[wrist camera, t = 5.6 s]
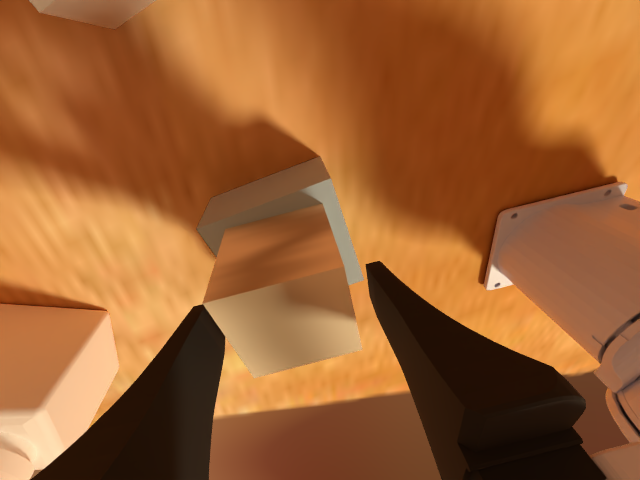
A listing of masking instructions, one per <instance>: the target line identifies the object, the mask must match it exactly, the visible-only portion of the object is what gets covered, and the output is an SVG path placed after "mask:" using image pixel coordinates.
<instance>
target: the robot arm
mask: <svg viewBox="0 0 640 480" xmlns="http://www.w3.org/2000/svg"><path fill="white" fill-rule="evenodd" d="M627 187H628V186H627V184H626V183H623V182H616V183H612V184H608V185H604V186H600V187H596V188H592V189H588V190H584V191H580V192H576V193H572V194H568V195H564V196H559V197H555V198H551V199H547V200H543V201H539V202H535V203H531V204H527V205H523V206H519V207H515V208H511V209H507V210H504V211H502V212H501V213H500V214H499V216H498V219H497V224H496V229H495V234H494V238H493V243H492V248H491V253H490V257H489V262H488V267H487V272H486V277H485V281H484V287H485V288H486V289H487V290H493V289H497V288H501V287H505V286H509V285H513V284H514V285H515V286H516V287H517V288H518V289H520V290H521V291H522V292H523V293H524V294H525V295H526V296H527V297H528V298H529V299H530V300H532V301H533V302H534V303H535V304H536V305H537V306H538V307H539V308H540V309H541V310H542V311H544V312H545V313H546V314H547V315H548V316H549V317H550V318H551V319H552V320H553V321H554V322H556V323H557V324H558V325H559V326H560V327H561V328H562V329H563V330H564V331H565V332H566V333H568V334H569V335H570V336H571V337H572V338H573V339H574V340H575V341H576V342H577V343H579V344H580V345H581V346H582V347H583V348H584V349H585V350H586V351H587V352H588V353H589V354H591V355H592V356H593V357H594V358H595V359H596V360H597V361H598V362H599V363H600V364H601V365H600V366H599V368H598V369H597V370H596V371H595V372H594V374H595V375H596V376H597V377H598V378H599V379H600V380H601V381H602V382H603V383H604V384H605V385H606V386H607V387H608V389H607V392H606V402H607V405H608V408H609V410H610V412H611V415H612V417H613V419H614V420H615V422H616V423H617V425H618V426H619V428H620V430H621V431H622V433H623V434H624V435H625V437H626V438H627V439H628V441H629V442H630V444H627V445H623V446H619V447H615V448H611V449H607V450H603V451H600V452H597V453H595V454H593V455H591V456H589V455H588V454H587V453H586V452H585V450H584V449H583V448H582V447H581V445H580V444H582V443H583V441H582V438H581V437H580V436H579V435H578V433H577V432H576V431H575V430H574V429H573V427H572V426H573V425H574V424H575V422H576V421H577V420H578V419H579V417H580V416H581V415H582V414H583V412H584V410H585V408H586V403H585V399H584V398H583V397H582V396H581V395H580V394H579V393H578V392H577V390H576V389H574V387H573V386H572V385H571V384H570V383H569V382H568V381H567V380H566V379H565V378H564V377H563V376H562V375H561V374H560V373H559V372H557V371H556V370H555V369H554V368H553V367H552V366H549V365H547V364H544V363H542V362H539V361H537V360H535V359H532V358H530V357H527V356H525V355H522V354H520V353H517V352H515V351H513V350H511V349H508V348H506V347H504V346H502V345H500V344H498V343H496V342H494V341H492V340H490V339H488V338H486V337H484V336H482V335H480V334H478V333H476V332H475V331H473V330H471V329H469V328H467V327H465V326H464V325H462V324H460V323H458V322H457V321H455V320H453V319H452V318H450V317H449V316H447V315H446V314H444V313H442V312H441V311H439V310H438V309H436V308H435V307H434V306H432V305H431V304H429V303H428V302H427V301H425V300H424V299H423V298H421V297H420V296H419V295H417V294H416V293H415V292H414V291H412V290H411V289H410V288H409V287H408V286H406V285H405V284H404V283H403V282H402V281H400V280H399V279H398V278H397V277H396V276H395V275H394V274H393V273H392V272H391V271H390V270H389V269H388V268H387V267H386V266H385V265H384V264H383V263H382V262H380V261H377V262H373V263H369V264H366V271H367V279H368V286H369V294H370V298H371V301H372V304H373V307H374V310H375V313H376V315H377V318H378V320H379V322H380V324H381V326H382V328H383V330H384V332H385V334H386V336H387V339H388V341H389V343H390V345H391V347H392V349H393V351H394V353H395V355H396V357H397V359H398V361H399V364H400V366H401V368H402V370H403V373H404V375H405V378H406V381H407V383H408V386H409V389H410V391H411V394H412V397H413V399H414V402H415V405H416V408H417V410H418V413H419V416H420V419H421V421H422V424H423V427H424V430H425V433H426V435H427V438H428V441H429V444H430V446H431V450H432V453H433V455H434V458H435V461H436V464H437V467H438V470H439V473H440V476H441V479H442V480H640V202H639V201H636V200H633V199H631V198H628V197H625V196H624V193H625V191H626V189H627ZM224 352H225V335H224V334H223V332H222V331H221V330H220V328H219V327H218V325H217V324H216V322H215V321H214V319H213V318H212V316H211V315H210V314H209V312H208V311H207V309H206V308H205V306H204V305H203V304H202V305H198V306H194V307H193V308H192V309H191V311H190V312H189V313H188V315H187V316H186V317H185V319H184V320H183V321H182V323H181V324H180V325H179V327H178V328H177V329H176V331H175V332H174V333H173V335H172V336H171V337H170V339H169V340H168V341H167V343H166V344H165V345H164V347H163V348H162V349H161V350H160V352H159V353H158V354H157V355H156V357H155V358H154V359H153V360H152V362H151V363H150V364H149V365H148V366H147V368H146V369H145V370H144V371H143V373H142V374H141V375H140V376H139V377H138V379H137V380H136V381H135V382H134V383H133V384H132V385H131V386H130V388H129V389H128V390H127V391H126V392H125V393H124V394H123V395H122V396H121V397H120V398H119V399H118V400H117V401H116V402H115V404H114V405H113V406H112V407H111V408H110V409H109V410H108V411H106V412H105V413H104V414H103V415H102V416H101V417H100V418H99V419H98V420H97V421H96V422H95V423H94V424H93V425H92V426H91V427H90V428H89V429H88V430H87V431H86V432H85V433H84V434H83V435H82V436H81V437H79V438H78V439H77V440H76V441H75V442H74V443H73V444H72V445H71V446H70V447H68V448H67V449H66V450H65V451H64V452H63V453H62V454H60V455H59V456H58V457H57V458H56V459H55V460H54V461H52V462H51V463H50V464H49V465H48V466H47V467H45V468H44V469H43V470H42V471H41V472H39V473H38V474H37V475H36V476H35V477H34V478H32V479H31V480H209V462H210V461H209V460H210V446H211V433H212V423H213V415H214V408H215V402H216V397H217V392H218V387H219V381H220V376H221V371H222V365H223V359H224Z"/></svg>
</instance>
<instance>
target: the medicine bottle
mask: <svg viewBox="0 0 640 480" xmlns="http://www.w3.org/2000/svg"><path fill="white" fill-rule="evenodd" d="M118 369H119V362H118V356H117V351H116V346H115V341H114V335H113V330H112V325H111V320H110V314H109V313H108V312H107V311H103V310H88V309H73V308H59V307H44V306H29V305H14V304H0V480H29V479H30V477H31V476H32V474H33V472H34V470H38V469H44V468H45V467H47V466H48V465H49V464H50V463H51V462H52V461H54V460H55V459H56V458H57V457H58V456H59V455H60V454H62V453H63V452H64V451H65V450H66V449H67V448H68V447H70V446H71V445H72V444H73V443H74V442H75V441H76V440H77V439H78V438H79V437H81V436H82V435H83V434H84V433H85V432H86V431H87V429H88V427H89V425H90V423H91V421H92V419H93V418H94V416H95V414H96V412H97V410H98V408H99V406H100V404H101V402H102V400H103V398H104V396H105V394H106V392H107V390H108V389H109V387H110V385H111V383H112V381H113V379H114V377H115V375H116V373H117V371H118Z"/></svg>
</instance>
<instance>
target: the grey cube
mask: <svg viewBox="0 0 640 480" xmlns="http://www.w3.org/2000/svg"><path fill="white" fill-rule="evenodd" d="M29 1H30V2H31V3H32V5H33V6H34V7H35V8H36V9H37V10H38V12H39V13H43V14H48V15H52V16H57V17H61V18H66V19H70V20H74V21H79V22H83V23H88V24H92V25H97V26H101V27H106V28H110V29H114V30H115V29H116V28H118V27H119V26H120V25H122V24H123V23H125V22H126V21H127V20H129V19H130V18H132V17H133V16H135V15H136V14H137V13H139V12H140V11H142V10H143V9H144V8H146V7H147V6H149V5H150V4H152V3H153V2H154V1H156V0H29Z"/></svg>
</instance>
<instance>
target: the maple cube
mask: <svg viewBox="0 0 640 480" xmlns="http://www.w3.org/2000/svg"><path fill="white" fill-rule="evenodd" d="M203 305H204V306H205V308H206V309H207V311H208V312H209V314H210V315H211V316H212V318H213V319H214V321H215V322H216V324H217V325H218V327H219V328H220V330H221V331H222V332H223V334H224V335H225V337H226V338H227V340H228V341H229V343H230V344H231V345H232V347H233V348H234V350H235V351H236V353H237V354H238V356H239V357H240V359H241V360H242V361H243V363H244V364H245V366H246V367H247V369H248V370H249V372H250V373H251V374H252V376H253V377H254V378H257V377H261V376H265V375H268V374H272V373H276V372H280V371H284V370H288V369H291V368H295V367H299V366H303V365H307V364H310V363H314V362H318V361H322V360H326V359H330V358H333V357H337V356H341V355H345V354H349V353H352V352H356V351H360V350H362V345H361V341H360V336H359V331H358V327H357V322H356V318H355V313H354V309H353V304H352V299H351V295H350V290H349V286H348V281H347V276H346V272H345V267H344V264H343V261H342V258H341V255H340V252H339V249H338V247H337V244H336V241H335V238H334V235H333V232H332V229H331V226H330V223H329V220H328V218H327V215H326V212H325V209H324V206H323V203H322V204H318V205H314V206H311V207H307V208H303V209H299V210H295V211H292V212H288V213H284V214H280V215H276V216H273V217H269V218H265V219H261V220H258V221H254V222H250V223H246V224H242V225H239V226H235V227H231V228H227V229H225V231H224V235H223V238H222V241H221V245H220V248H219V251H218V254H217V258H216V261H215V264H214V268H213V271H212V274H211V277H210V281H209V284H208V287H207V291H206V294H205V297H204V301H203Z"/></svg>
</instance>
